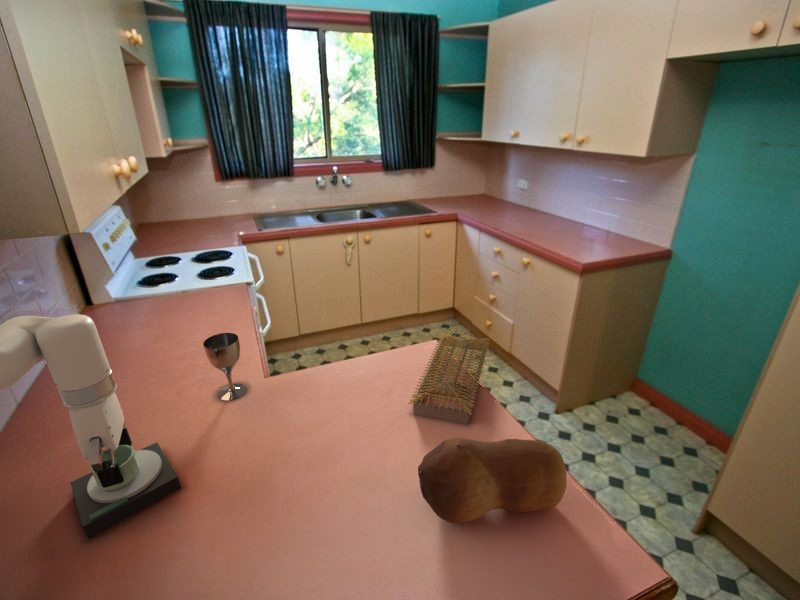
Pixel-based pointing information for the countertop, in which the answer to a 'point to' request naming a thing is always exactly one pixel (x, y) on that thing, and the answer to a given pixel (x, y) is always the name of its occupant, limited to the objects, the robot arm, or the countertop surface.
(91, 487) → the scale
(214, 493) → the countertop surface
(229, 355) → the wine glass
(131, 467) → the bowl
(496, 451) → the butternut squash
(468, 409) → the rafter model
